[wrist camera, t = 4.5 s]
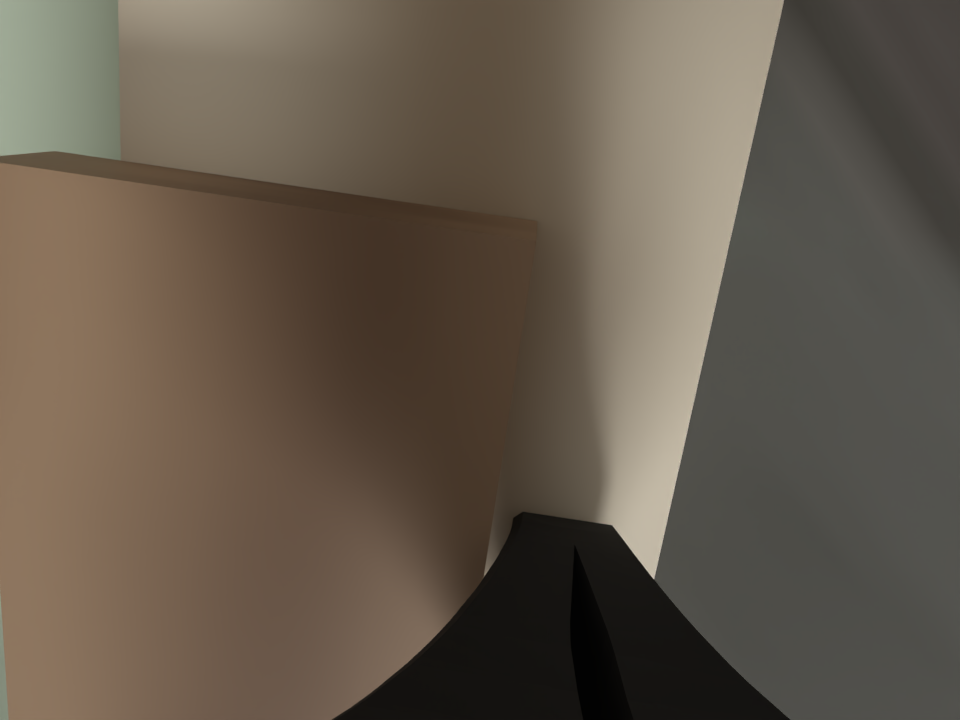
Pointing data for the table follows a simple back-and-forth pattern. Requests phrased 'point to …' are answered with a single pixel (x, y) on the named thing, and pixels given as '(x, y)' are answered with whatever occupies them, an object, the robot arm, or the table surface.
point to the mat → (58, 95)
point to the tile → (240, 436)
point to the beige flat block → (504, 184)
